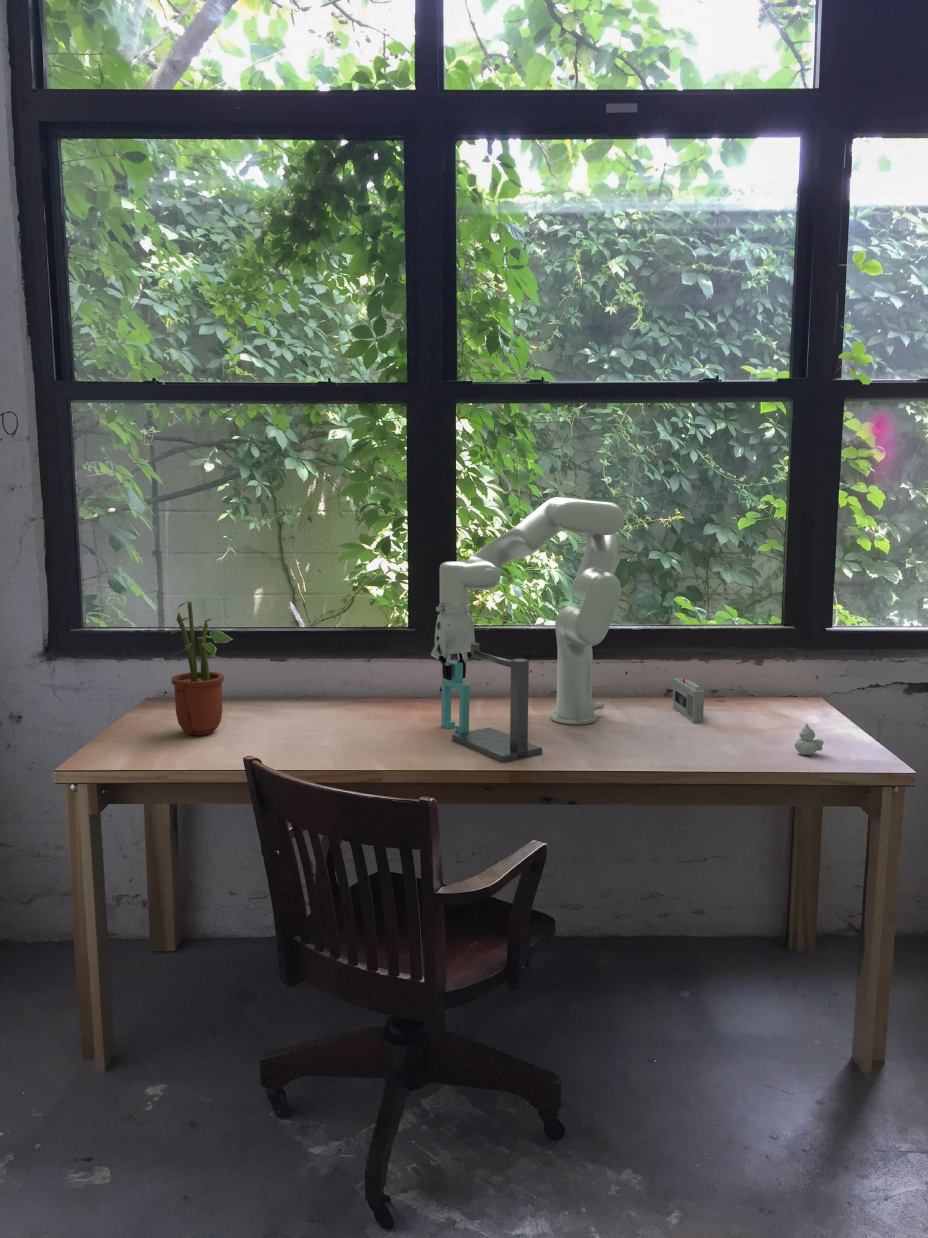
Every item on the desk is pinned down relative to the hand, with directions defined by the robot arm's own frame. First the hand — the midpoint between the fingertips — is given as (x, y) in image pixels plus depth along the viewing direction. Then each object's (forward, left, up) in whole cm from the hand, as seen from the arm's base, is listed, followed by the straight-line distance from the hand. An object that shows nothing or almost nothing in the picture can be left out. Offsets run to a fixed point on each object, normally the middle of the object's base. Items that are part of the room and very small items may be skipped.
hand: (454, 677), depth 237 cm
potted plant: (+56, -37, -14) cm, 69 cm away
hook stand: (0, +19, -14) cm, 24 cm away
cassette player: (-62, +25, -14) cm, 68 cm away
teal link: (0, 0, -14) cm, 14 cm away
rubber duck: (-59, +66, -14) cm, 90 cm away
